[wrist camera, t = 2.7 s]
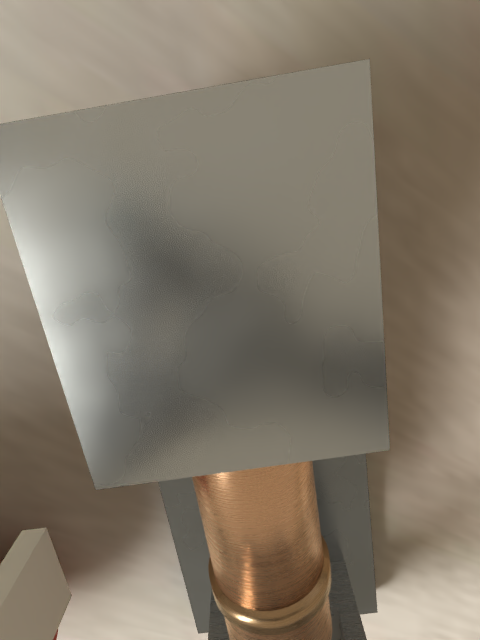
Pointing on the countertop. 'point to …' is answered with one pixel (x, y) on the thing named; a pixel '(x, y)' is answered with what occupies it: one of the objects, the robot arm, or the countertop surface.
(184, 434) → the jig
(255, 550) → the copper tube
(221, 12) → the countertop surface
